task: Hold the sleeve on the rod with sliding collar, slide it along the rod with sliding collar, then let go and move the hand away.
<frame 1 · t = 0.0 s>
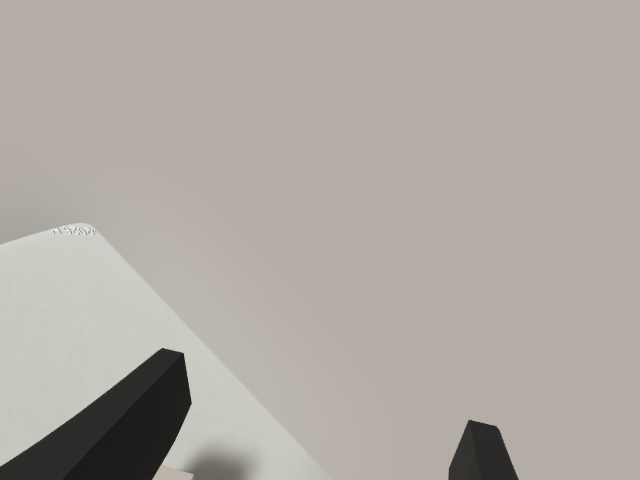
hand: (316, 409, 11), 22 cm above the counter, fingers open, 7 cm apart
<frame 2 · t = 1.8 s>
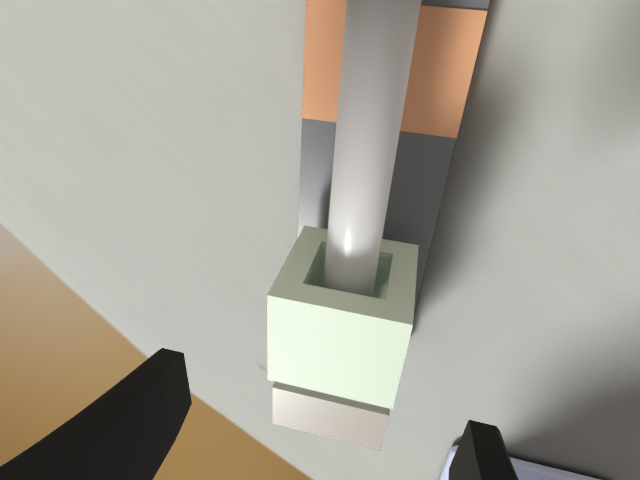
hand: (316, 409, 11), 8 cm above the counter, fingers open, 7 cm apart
sleeve: (345, 310, 14), point 4 cm above the counter, slide at 0.0 cm
rod with sliding collar: (373, 173, 16), on the counter
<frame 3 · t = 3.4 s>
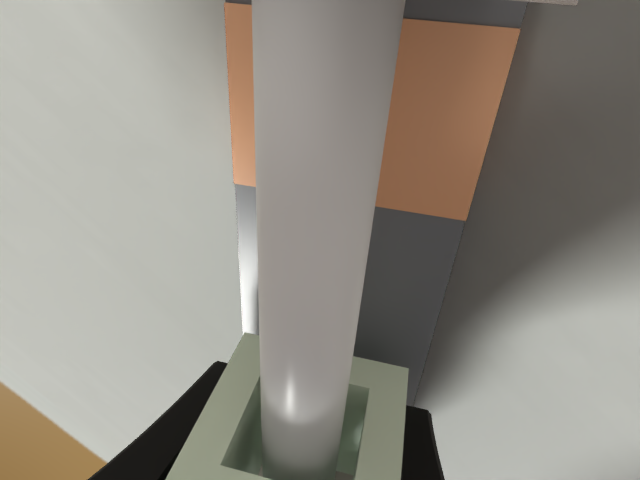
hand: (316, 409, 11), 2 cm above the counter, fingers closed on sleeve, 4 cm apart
sleeve: (299, 471, 9), point 4 cm above the counter, slide at 0.0 cm, touching gripper
rod with sliding collar: (344, 252, 11), on the counter
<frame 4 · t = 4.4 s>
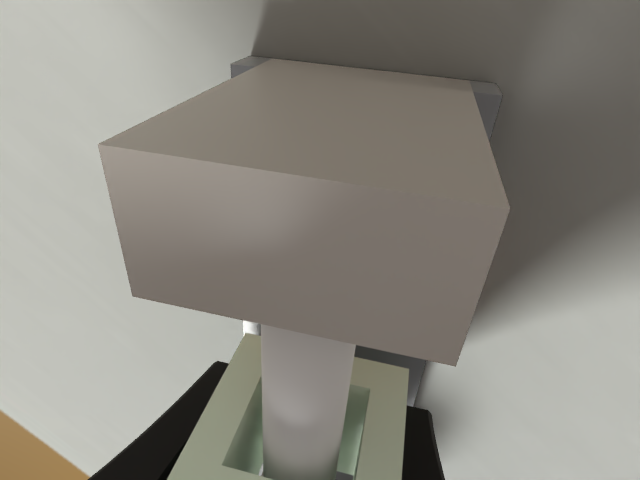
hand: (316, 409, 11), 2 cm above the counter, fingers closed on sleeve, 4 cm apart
sleeve: (299, 471, 9), point 4 cm above the counter, slide at 3.5 cm, touching gripper
rod with sliding collar: (334, 348, 13), on the counter
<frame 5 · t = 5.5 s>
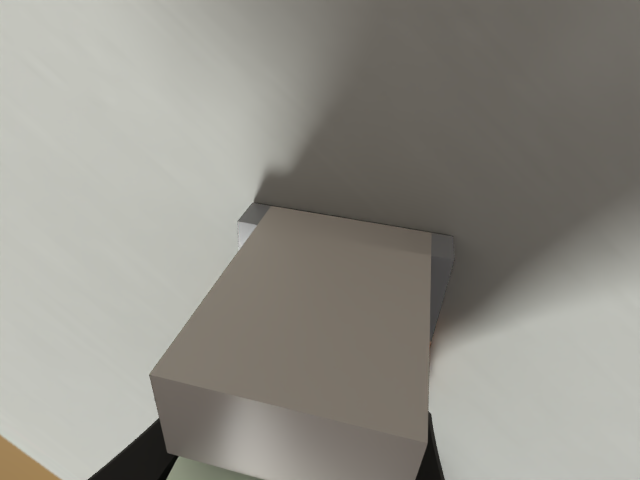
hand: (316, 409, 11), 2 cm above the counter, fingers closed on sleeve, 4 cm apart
sleeve: (299, 471, 9), point 4 cm above the counter, slide at 7.0 cm, touching gripper
rod with sliding collar: (326, 418, 15), on the counter
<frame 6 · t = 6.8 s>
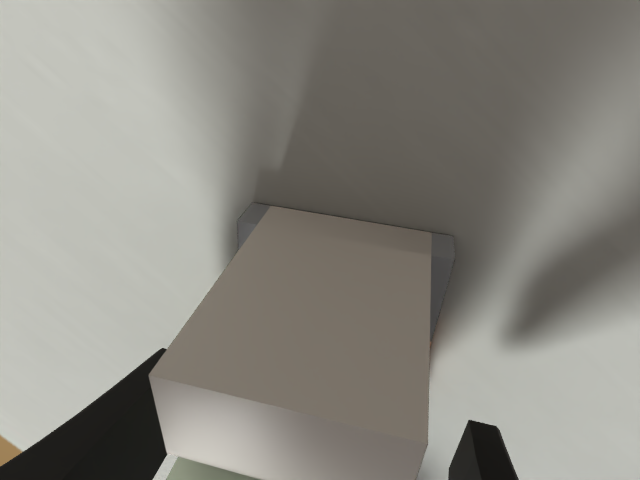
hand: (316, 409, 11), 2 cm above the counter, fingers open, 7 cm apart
sleeve: (299, 471, 9), point 4 cm above the counter, slide at 7.0 cm
rod with sliding collar: (326, 418, 15), on the counter
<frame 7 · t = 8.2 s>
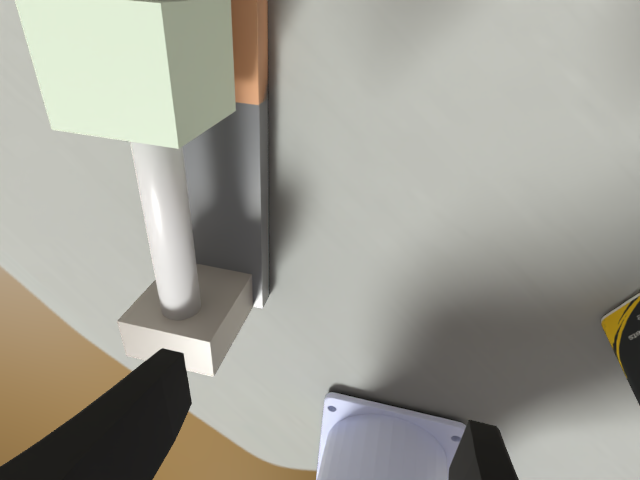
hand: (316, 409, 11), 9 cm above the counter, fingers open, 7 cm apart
sleeve: (143, 61, 13), point 4 cm above the counter, slide at 7.0 cm
rod with sliding collar: (212, 139, 18), on the counter
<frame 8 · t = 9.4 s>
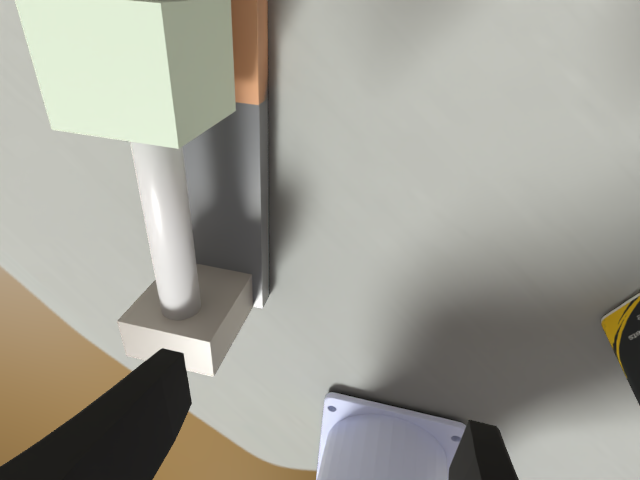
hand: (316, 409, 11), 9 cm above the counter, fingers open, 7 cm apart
sleeve: (143, 61, 13), point 4 cm above the counter, slide at 7.0 cm
rod with sliding collar: (212, 139, 18), on the counter
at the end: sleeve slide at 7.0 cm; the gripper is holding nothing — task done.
